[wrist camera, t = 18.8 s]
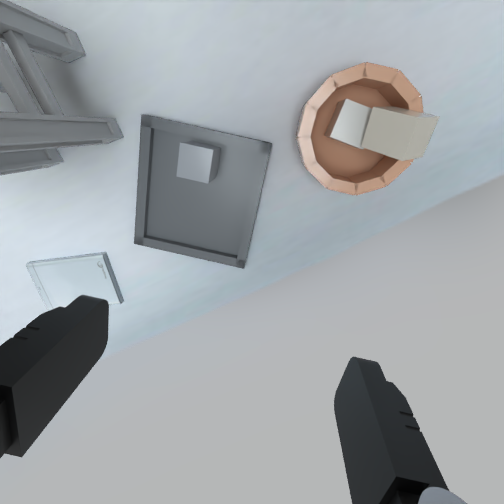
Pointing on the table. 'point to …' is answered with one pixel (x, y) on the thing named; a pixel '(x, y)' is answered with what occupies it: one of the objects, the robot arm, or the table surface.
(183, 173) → the light gray block
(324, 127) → the bowl
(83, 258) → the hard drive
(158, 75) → the table surface
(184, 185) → the tray
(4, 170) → the stool
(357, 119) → the pale grey cuboid
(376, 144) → the off-white cubic block
